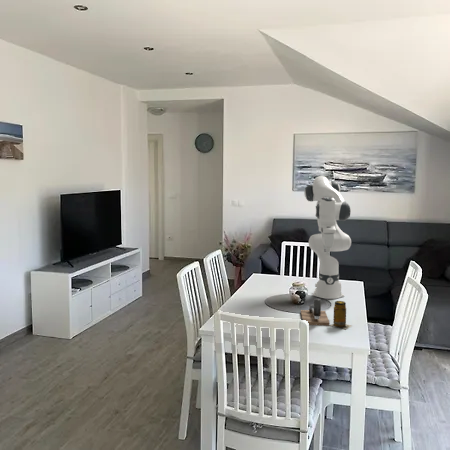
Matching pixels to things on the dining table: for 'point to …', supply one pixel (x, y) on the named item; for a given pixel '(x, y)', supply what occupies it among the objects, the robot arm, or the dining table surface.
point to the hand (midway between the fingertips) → (326, 253)
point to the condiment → (340, 315)
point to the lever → (316, 308)
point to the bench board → (310, 318)
